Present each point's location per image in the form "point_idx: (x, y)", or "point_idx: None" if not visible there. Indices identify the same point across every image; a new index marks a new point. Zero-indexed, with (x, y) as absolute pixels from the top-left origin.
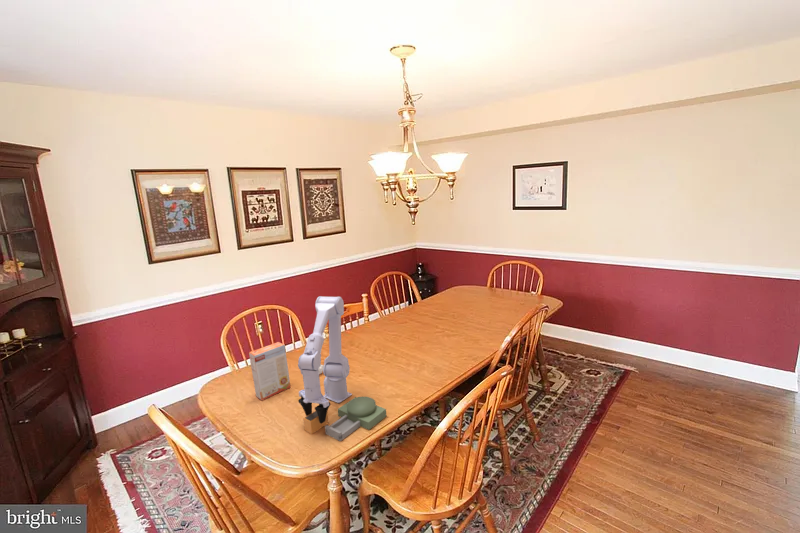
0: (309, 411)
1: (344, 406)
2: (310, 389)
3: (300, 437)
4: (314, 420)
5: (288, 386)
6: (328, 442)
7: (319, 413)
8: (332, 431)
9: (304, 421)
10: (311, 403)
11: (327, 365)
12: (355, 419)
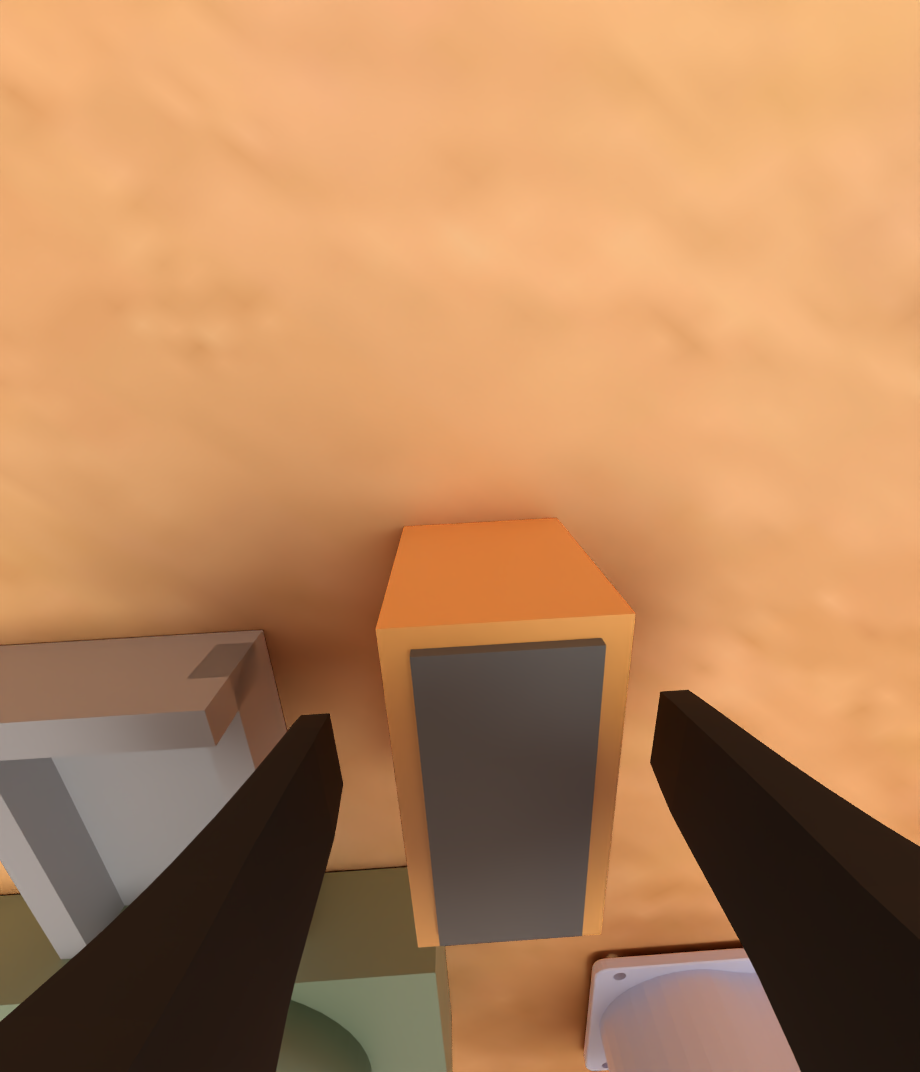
0: (697, 801)
1: (407, 1024)
2: None
3: (475, 376)
4: (388, 703)
5: None
6: (68, 549)
7: (2, 1037)
8: (40, 700)
9: (585, 583)
10: (792, 1039)
11: None
12: None
